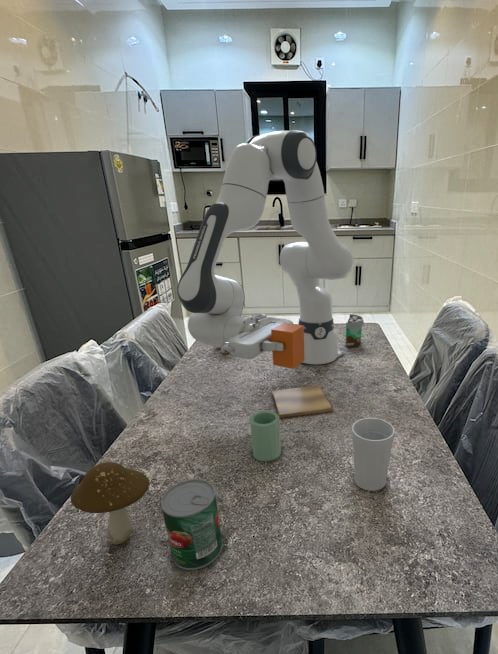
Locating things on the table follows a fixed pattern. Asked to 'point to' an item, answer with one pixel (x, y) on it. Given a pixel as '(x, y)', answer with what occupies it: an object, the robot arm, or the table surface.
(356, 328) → the food container
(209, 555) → the canned tomato
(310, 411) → the wooden board
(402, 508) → the table surface
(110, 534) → the mushroom
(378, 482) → the cup
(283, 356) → the orange block
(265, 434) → the green cup
